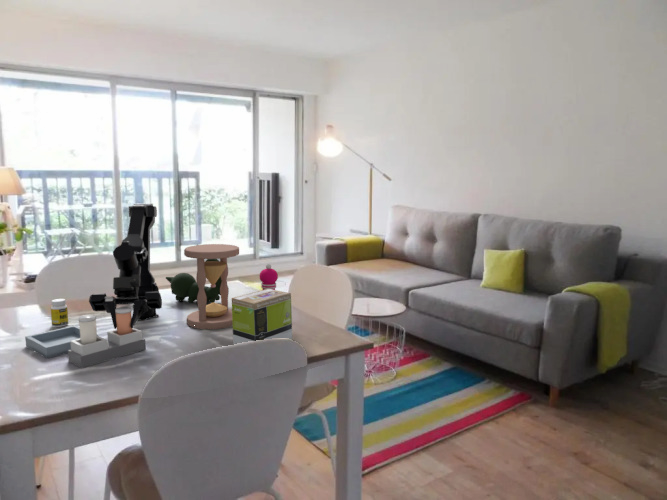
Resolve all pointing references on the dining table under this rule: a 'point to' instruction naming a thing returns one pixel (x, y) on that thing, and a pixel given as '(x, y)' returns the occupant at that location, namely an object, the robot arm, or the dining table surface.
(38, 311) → the dining table surface
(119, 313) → the marked fuse
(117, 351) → the block
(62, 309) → the supplement bottle
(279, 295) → the tea box
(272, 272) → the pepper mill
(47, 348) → the parts tray
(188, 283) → the toy figurine
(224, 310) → the hourglass
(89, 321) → the cylinder
